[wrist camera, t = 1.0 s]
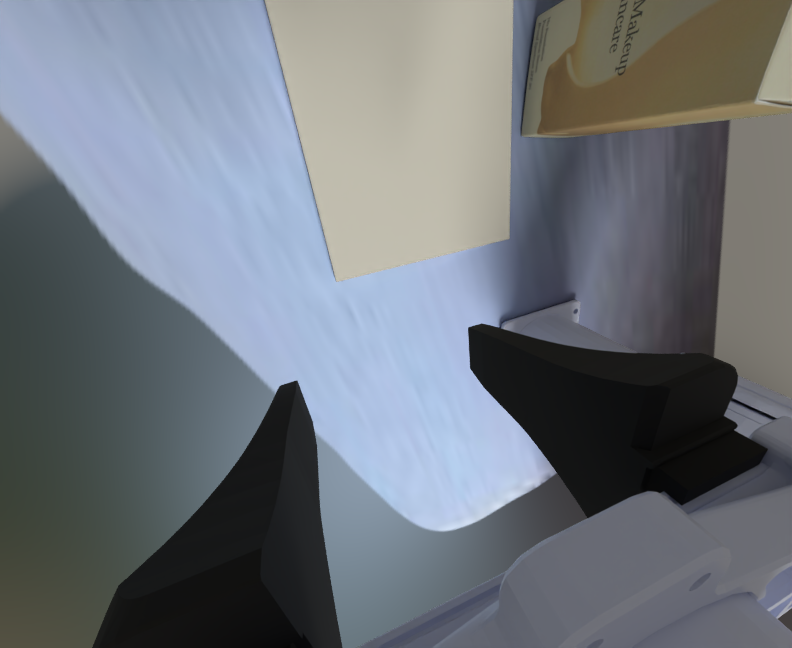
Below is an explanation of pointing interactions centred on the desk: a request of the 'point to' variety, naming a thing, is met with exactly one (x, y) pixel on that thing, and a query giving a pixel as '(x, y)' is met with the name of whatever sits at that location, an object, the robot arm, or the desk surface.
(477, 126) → the mat
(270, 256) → the desk surface
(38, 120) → the desk surface
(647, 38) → the skincare box
